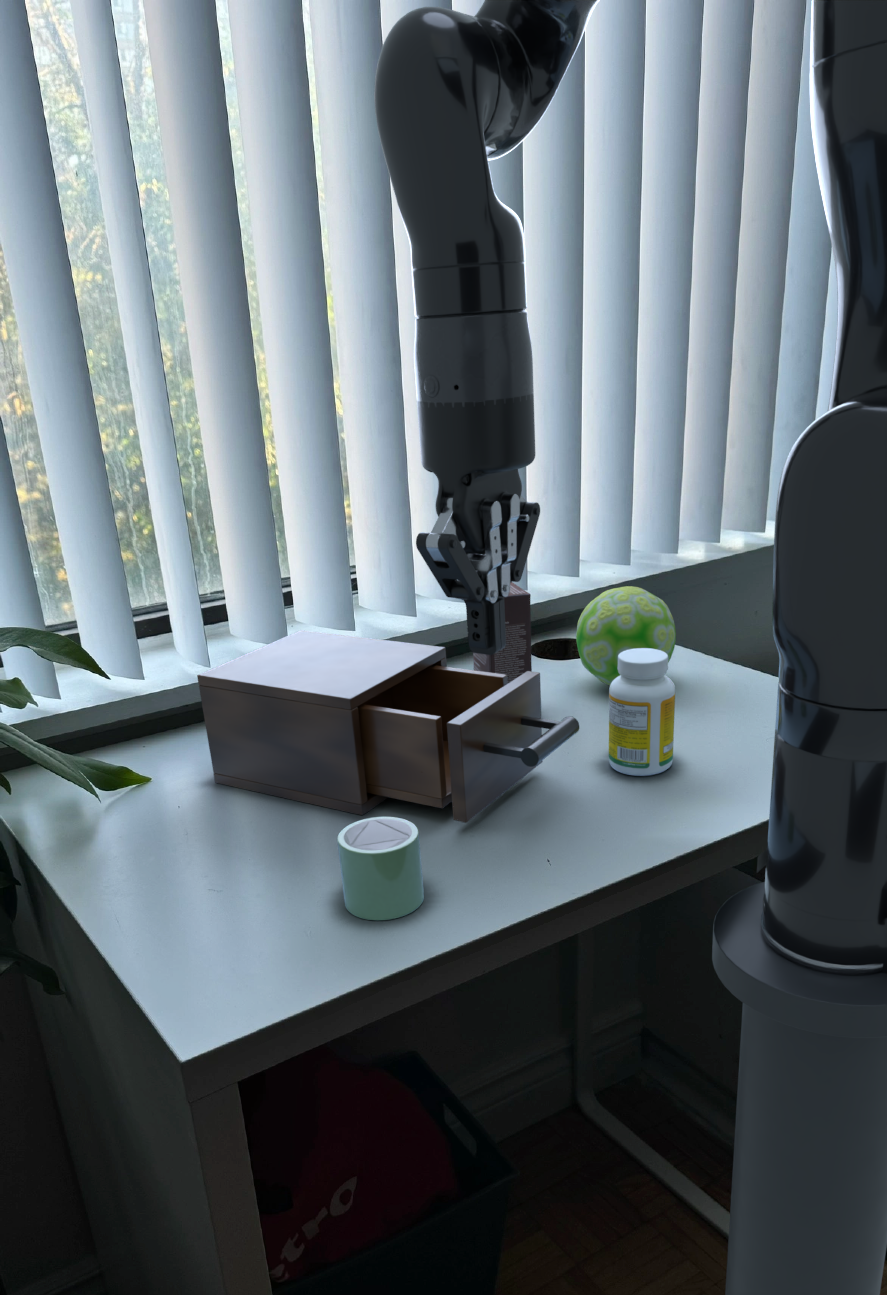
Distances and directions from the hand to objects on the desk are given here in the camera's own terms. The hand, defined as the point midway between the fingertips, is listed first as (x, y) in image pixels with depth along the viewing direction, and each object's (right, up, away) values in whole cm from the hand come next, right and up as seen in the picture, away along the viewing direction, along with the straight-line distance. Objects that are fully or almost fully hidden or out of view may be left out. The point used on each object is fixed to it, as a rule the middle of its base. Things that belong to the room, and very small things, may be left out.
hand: (488, 650), depth 76 cm
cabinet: (-13, -8, +18) cm, 24 cm away
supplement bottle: (+14, -8, +15) cm, 22 cm away
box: (+3, -2, +29) cm, 29 cm away
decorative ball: (+15, +1, +33) cm, 36 cm away
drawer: (-2, -9, +12) cm, 15 cm away
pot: (-7, -17, -3) cm, 19 cm away
